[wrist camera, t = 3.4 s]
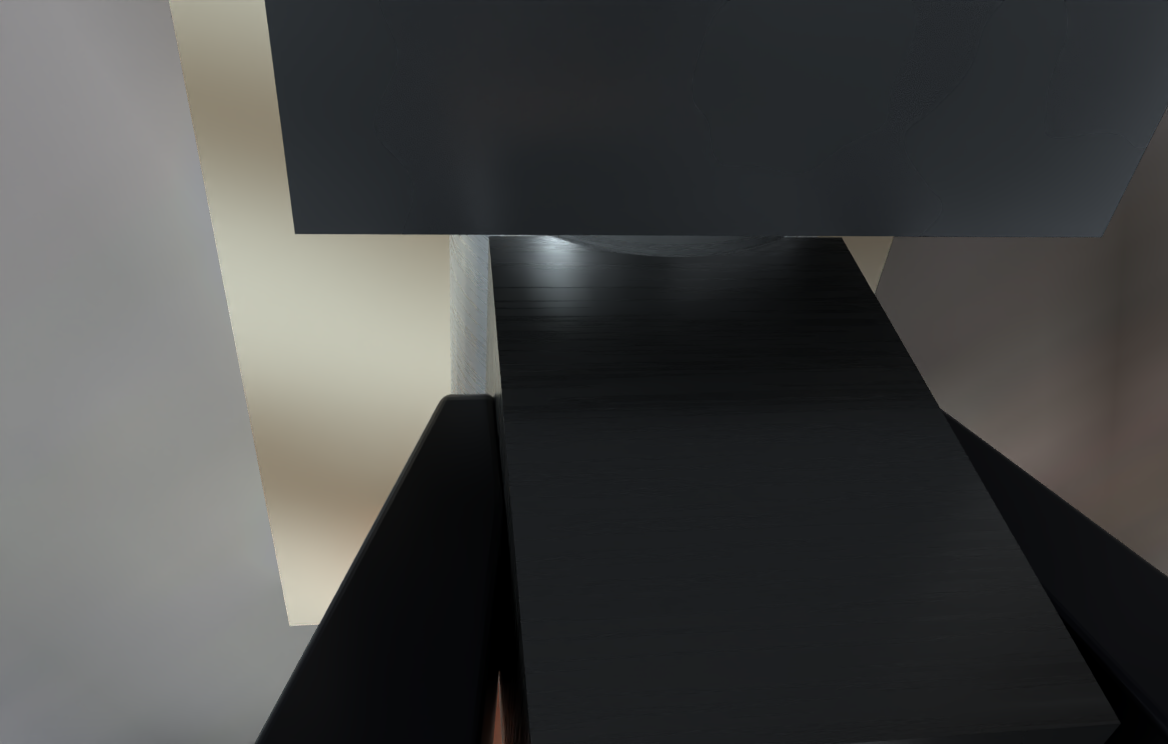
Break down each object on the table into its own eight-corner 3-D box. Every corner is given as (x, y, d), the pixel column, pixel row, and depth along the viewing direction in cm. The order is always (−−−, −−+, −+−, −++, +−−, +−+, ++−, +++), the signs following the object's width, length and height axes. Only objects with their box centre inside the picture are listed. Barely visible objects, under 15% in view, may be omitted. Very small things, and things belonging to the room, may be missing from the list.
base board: (-33, -1283, 7) (-102, -1401, 6) (1240, -1018, 8) (1339, -1082, 7) (296, 577, 20) (289, 625, 20) (756, 556, 22) (770, 601, 21)
